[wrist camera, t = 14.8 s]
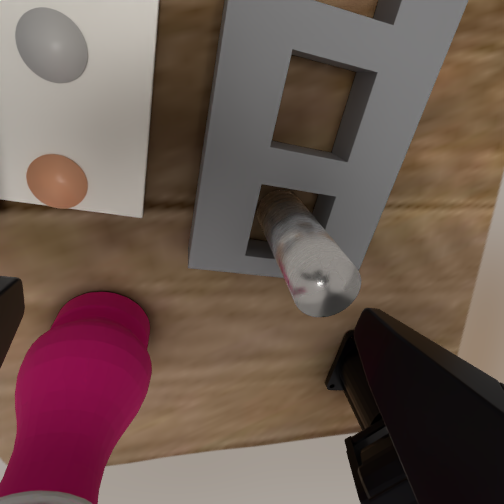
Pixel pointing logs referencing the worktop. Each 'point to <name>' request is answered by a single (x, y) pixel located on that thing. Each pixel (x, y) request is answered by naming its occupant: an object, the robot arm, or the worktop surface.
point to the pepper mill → (77, 399)
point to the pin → (307, 256)
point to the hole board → (349, 134)
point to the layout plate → (76, 102)
